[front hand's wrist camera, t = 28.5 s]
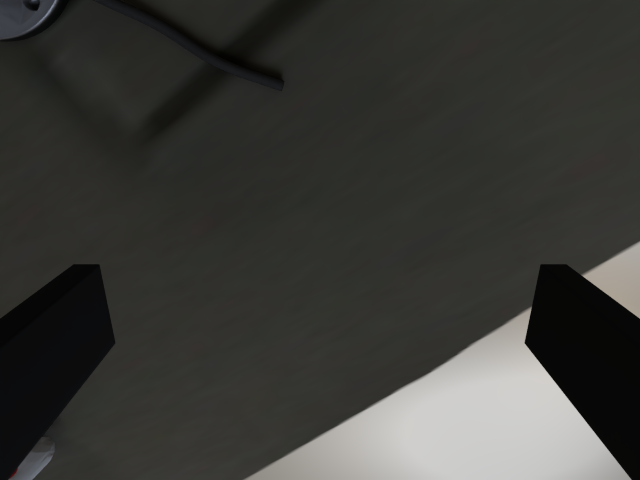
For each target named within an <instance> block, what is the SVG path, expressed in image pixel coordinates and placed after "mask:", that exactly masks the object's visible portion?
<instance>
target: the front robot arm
mask: <svg viewBox="0 0 640 480" xmlns="http://www.w3.org/2000/svg"><path fill="white" fill-rule="evenodd" d="M94 1H96V2H98V3H100V4H102V5H104V6H107V7H109V8H111V9H113V10H115V11H117V12H120V13H122V14H124V15H126V16H129V17H131V18H133V19H135V20H137V21H140V22H142V23H144V24H146V25H148V26H150V27H152V28H153V29H155V30H157V31H159V32H161V33H162V34H164V35H166V36H167V37H169V38H170V39H172V40H174V41H175V42H177V43H178V44H179V45H181V46H182V47H184V48H185V49H187V50H188V51H190V52H191V53H193V54H194V55H196V56H197V57H199V58H201V59H202V60H204V61H206V62H208V63H209V64H211V65H213V66H215V67H217V68H219V69H221V70H224V71H226V72H228V73H231V74H233V75H236V76H238V77H241V78H244V79H247V80H250V81H253V82H256V83H259V84H262V85H265V86H268V87H271V88H274V89H277V90H280V91H282V88H283V85H284V81H283V80H280V79H277V78H274V77H271V76H268V75H265V74H262V73H259V72H256V71H253V70H250V69H247V68H244V67H242V66H239V65H237V64H234V63H232V62H230V61H227V60H225V59H223V58H221V57H219V56H217V55H215V54H213V53H212V52H210V51H208V50H206V49H205V48H203V47H202V46H200V45H199V44H197V43H196V42H194V41H193V40H191V39H190V38H188V37H187V36H185V35H184V34H182V33H181V32H179V31H178V30H176V29H175V28H173V27H172V26H170V25H168V24H167V23H165V22H163V21H162V20H160V19H158V18H156V17H154V16H152V15H150V14H148V13H146V12H144V11H142V10H140V9H138V8H136V7H134V6H132V5H129V4H127V3H125V2H123V1H121V0H94ZM67 3H68V0H0V41H18V40H23V39H27V38H30V37H33V36H35V35H37V34H39V33H41V32H42V31H44V30H45V29H47V28H48V27H49V26H50V25H51V24H53V23H54V22H55V21H56V19H57V18H58V17H59V16H60V14H61V13H62V11H63V10H64V8H65V6H66V4H67ZM114 344H115V339H114V334H113V329H112V324H111V319H110V314H109V309H108V304H107V300H106V295H105V290H104V285H103V280H102V275H101V270H100V265H99V264H73V265H72V266H71V267H69V268H68V269H67V270H65V271H64V272H63V273H61V274H60V275H59V276H57V277H56V278H55V279H53V280H52V281H51V282H49V283H48V284H46V285H45V286H44V287H42V288H41V289H40V290H38V291H37V292H36V293H34V294H33V295H32V296H30V297H29V298H28V299H26V300H25V301H24V302H22V303H21V304H19V305H18V306H17V307H15V308H14V309H13V310H11V311H10V312H9V313H7V314H6V315H5V316H3V317H2V318H1V319H0V480H8V479H9V478H10V477H11V476H12V474H13V473H14V472H15V470H16V469H17V468H18V467H19V465H20V464H21V463H22V462H23V460H24V459H25V458H26V456H27V455H28V454H29V453H30V451H31V450H32V449H33V448H34V446H35V445H36V444H37V442H38V441H39V440H40V439H41V437H42V436H43V435H44V433H45V432H46V431H47V430H48V428H49V427H50V426H51V425H52V423H53V422H54V421H55V419H56V418H57V417H58V416H59V414H60V413H61V412H62V411H63V409H64V408H65V407H66V405H67V404H68V403H69V402H70V400H71V399H72V398H73V396H74V395H75V394H76V393H77V391H78V390H79V389H80V388H81V386H82V385H83V384H84V382H85V381H86V380H87V379H88V377H89V376H90V375H91V374H92V372H93V371H94V370H95V368H96V367H97V366H98V365H99V363H100V362H101V361H102V359H103V358H104V357H105V356H106V354H107V353H108V352H109V351H110V349H111V348H112V347H113V345H114ZM525 344H526V345H527V347H528V348H529V349H530V351H531V352H532V353H533V354H534V356H535V357H536V358H537V359H538V361H539V362H540V363H541V364H542V366H543V367H544V368H545V370H546V371H547V372H548V374H549V375H550V376H551V377H552V379H553V380H554V381H555V382H556V384H557V385H558V386H559V388H560V389H561V390H562V391H563V393H564V394H565V395H566V396H567V398H568V399H569V400H570V402H571V403H572V404H573V405H574V407H575V408H576V409H577V410H578V412H579V413H580V414H581V416H582V417H583V418H584V419H585V421H586V422H587V423H588V425H589V426H590V427H591V428H592V430H593V431H594V432H595V433H596V435H597V436H598V437H599V439H600V440H601V441H602V442H603V444H604V445H605V446H606V448H607V449H608V450H609V451H610V453H611V454H612V455H613V456H614V458H615V459H616V460H617V462H618V463H619V464H620V465H621V467H622V468H623V469H624V470H625V472H626V473H627V474H628V476H629V477H630V478H631V479H632V480H640V319H639V318H638V317H637V316H635V315H634V314H633V313H631V312H630V311H629V310H627V309H626V308H625V307H623V306H622V305H620V304H619V303H618V302H616V301H615V300H614V299H612V298H611V297H610V296H608V295H607V294H606V293H604V292H603V291H602V290H600V289H599V288H598V287H596V286H595V285H593V284H592V283H591V282H589V281H588V280H587V279H585V278H584V277H583V276H581V275H580V274H579V273H577V272H576V271H575V270H573V269H572V268H571V267H569V266H568V265H567V264H541V265H540V270H539V275H538V280H537V285H536V290H535V295H534V300H533V304H532V309H531V314H530V319H529V324H528V329H527V334H526V339H525Z"/></svg>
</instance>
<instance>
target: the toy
mask: <svg viewBox="0 0 640 480" xmlns="http://www.w3.org/2000/svg"><path fill="white" fill-rule="evenodd" d="M54 451H55V443H54V442H53V441H52V439H51V438H49V437H41V439H40V440H39V441H38V442H37V444H36V445H35V446H34V448H33V449H32V450H31V451H30V453H29V454H28V455H27V456H26V458H25V459H24V460H23V462H22V463H21V464H20V465H19V467H18V468H17V469H16V470H15V472H14V473H13V474H12V476H11V477H10V478H9V479H8V480H32V479H33V478H34V477H35V476H36V475H37V474H38V473H39V472H40V471H41V470H42V469H43V468H44V467H45V466H46V465H47V464H48V463H49V462H50V460H51V458H52V457H53V454H54Z"/></svg>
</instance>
